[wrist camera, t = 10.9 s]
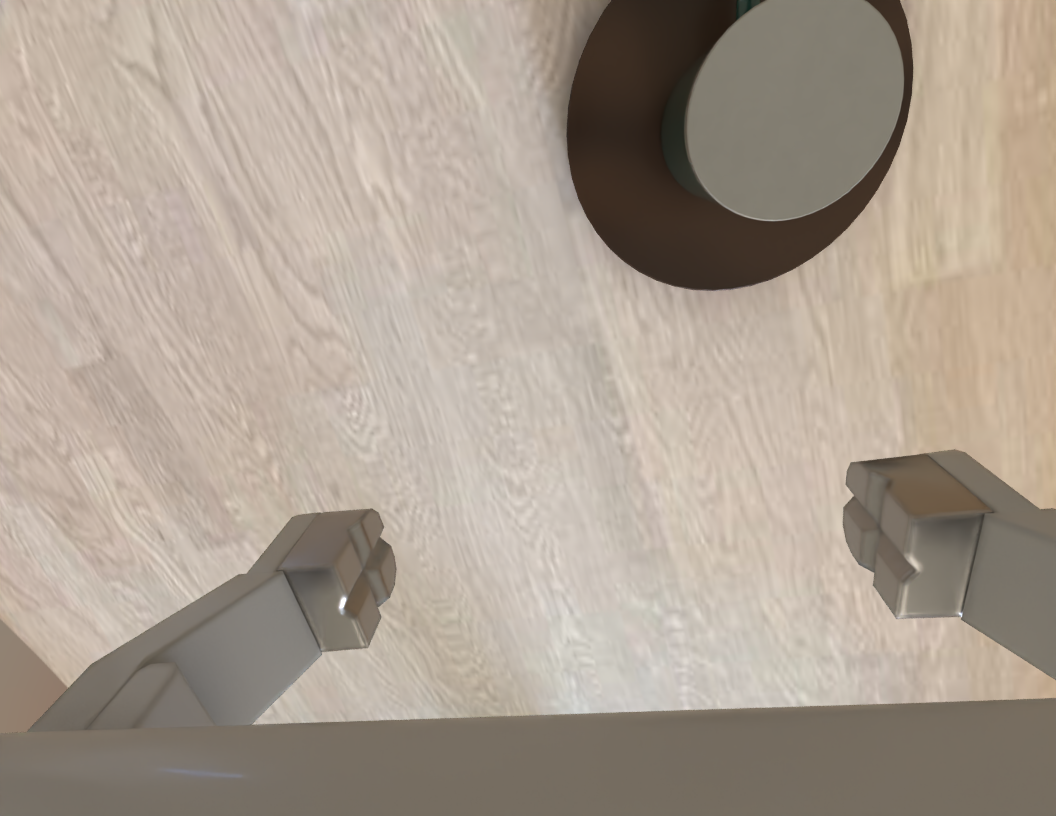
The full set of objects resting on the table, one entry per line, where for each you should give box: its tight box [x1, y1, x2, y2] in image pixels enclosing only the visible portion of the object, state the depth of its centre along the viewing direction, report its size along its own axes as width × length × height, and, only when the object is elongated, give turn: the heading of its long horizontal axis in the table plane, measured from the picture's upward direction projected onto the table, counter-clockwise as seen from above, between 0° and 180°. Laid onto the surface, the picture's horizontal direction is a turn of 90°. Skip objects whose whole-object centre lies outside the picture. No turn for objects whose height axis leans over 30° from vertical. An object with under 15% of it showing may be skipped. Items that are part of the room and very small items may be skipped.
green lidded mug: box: [661, 0, 904, 221], centre depth 20 cm, size 7×9×8 cm
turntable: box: [567, 0, 913, 291], centre depth 25 cm, size 15×15×2 cm
